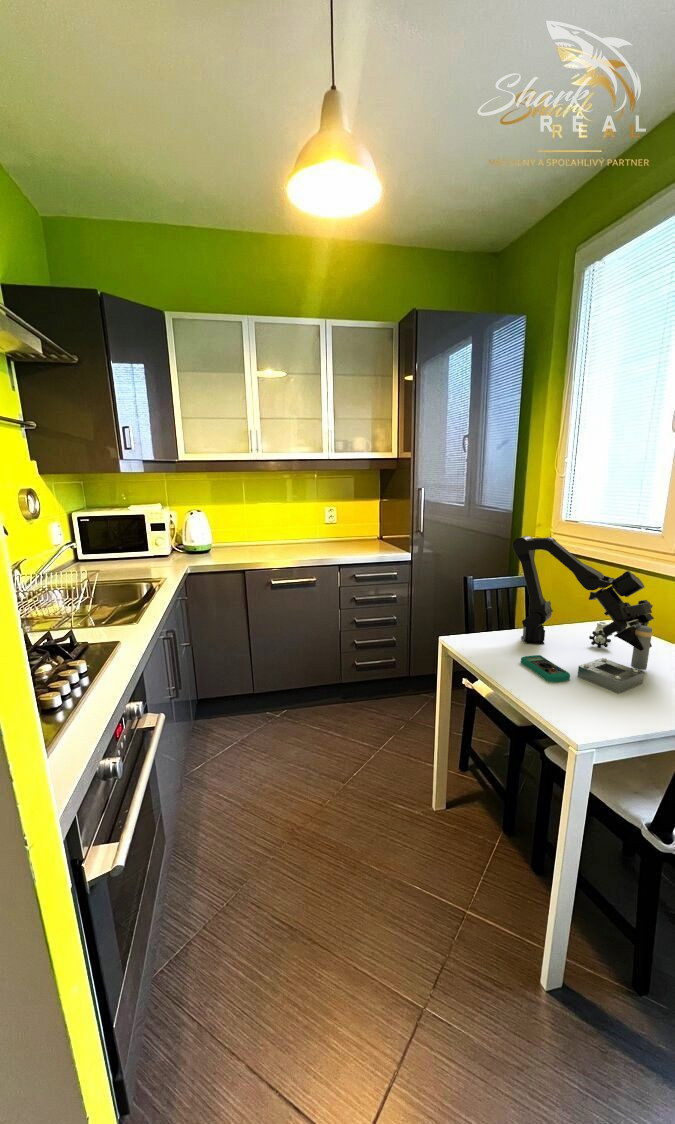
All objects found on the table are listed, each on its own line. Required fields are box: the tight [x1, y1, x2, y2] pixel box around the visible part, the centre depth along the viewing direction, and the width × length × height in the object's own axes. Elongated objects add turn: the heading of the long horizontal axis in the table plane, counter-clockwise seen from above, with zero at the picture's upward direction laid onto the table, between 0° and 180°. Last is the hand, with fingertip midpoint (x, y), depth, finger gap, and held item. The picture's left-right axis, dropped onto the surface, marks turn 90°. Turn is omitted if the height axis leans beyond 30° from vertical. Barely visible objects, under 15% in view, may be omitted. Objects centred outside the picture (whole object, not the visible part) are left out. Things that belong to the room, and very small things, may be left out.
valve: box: [588, 620, 612, 649], centre depth 154 cm, size 7×7×12 cm
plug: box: [630, 625, 653, 671], centre depth 130 cm, size 4×4×13 cm
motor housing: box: [577, 657, 645, 694], centre depth 125 cm, size 12×12×4 cm
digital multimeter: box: [520, 654, 571, 683], centre depth 132 cm, size 7×15×3 cm, turn 11°
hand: (646, 648), depth 129 cm, fingers closed on plug, 4 cm apart
